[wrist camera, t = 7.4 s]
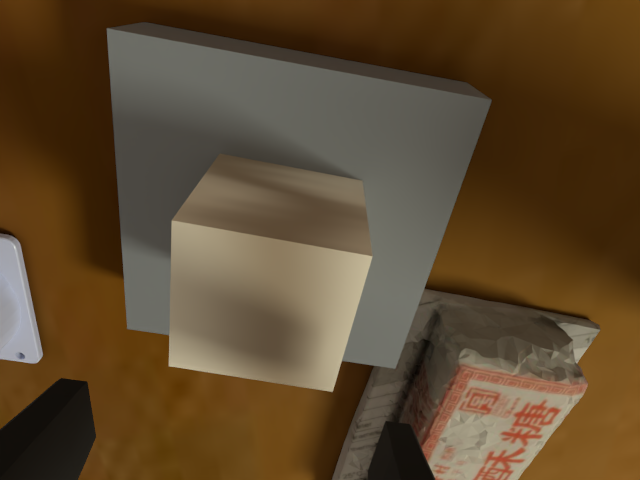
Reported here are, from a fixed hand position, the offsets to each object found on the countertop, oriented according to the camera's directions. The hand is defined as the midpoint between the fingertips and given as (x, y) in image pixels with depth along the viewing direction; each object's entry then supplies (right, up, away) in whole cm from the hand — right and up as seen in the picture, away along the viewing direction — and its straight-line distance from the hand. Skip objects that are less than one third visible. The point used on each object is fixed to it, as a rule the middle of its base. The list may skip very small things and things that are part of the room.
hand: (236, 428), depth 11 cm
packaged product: (+9, -6, +16) cm, 19 cm away
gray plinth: (+1, +6, +8) cm, 10 cm away
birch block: (+1, +5, +6) cm, 8 cm away
